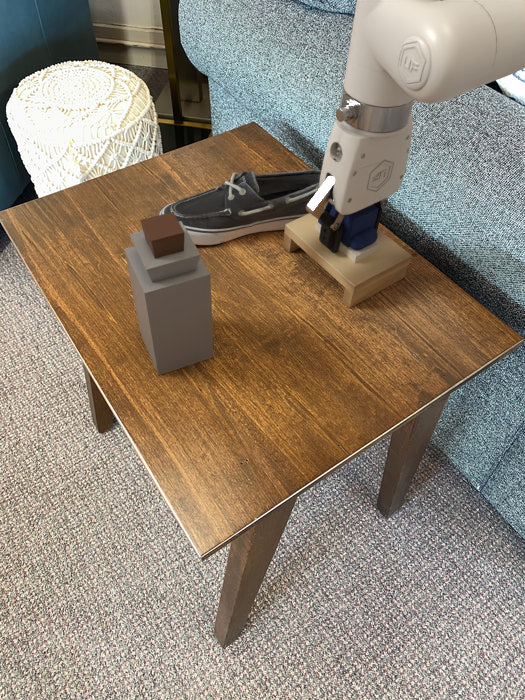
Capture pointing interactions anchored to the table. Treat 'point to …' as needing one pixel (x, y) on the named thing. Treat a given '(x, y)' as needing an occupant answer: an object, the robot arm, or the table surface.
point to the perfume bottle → (170, 294)
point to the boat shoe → (246, 205)
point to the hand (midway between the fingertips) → (348, 236)
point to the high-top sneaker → (358, 233)
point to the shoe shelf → (350, 261)
